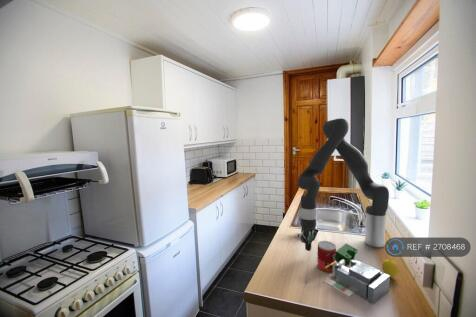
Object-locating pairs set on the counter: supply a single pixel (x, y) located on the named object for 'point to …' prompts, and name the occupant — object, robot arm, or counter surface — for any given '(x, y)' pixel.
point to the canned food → (326, 255)
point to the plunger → (336, 266)
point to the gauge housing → (364, 281)
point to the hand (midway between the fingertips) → (308, 250)
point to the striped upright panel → (339, 287)
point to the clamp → (346, 253)
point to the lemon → (390, 267)
